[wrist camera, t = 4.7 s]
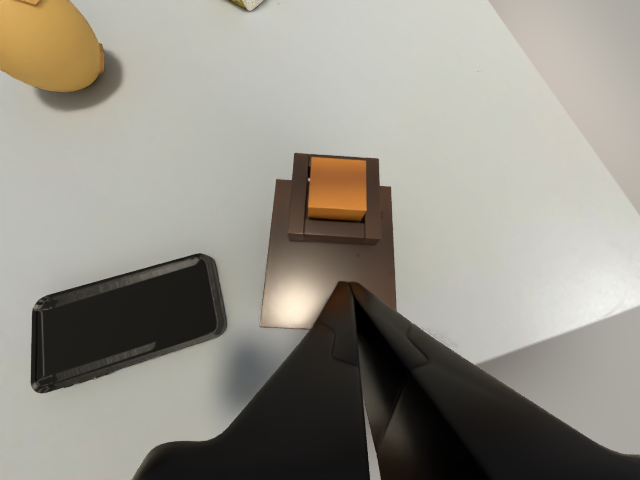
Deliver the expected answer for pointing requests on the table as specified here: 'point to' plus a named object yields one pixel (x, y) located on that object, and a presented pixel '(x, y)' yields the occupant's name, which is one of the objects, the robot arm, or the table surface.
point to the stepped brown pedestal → (324, 249)
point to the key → (337, 189)
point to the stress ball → (48, 45)
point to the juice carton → (248, 3)
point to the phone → (124, 321)
